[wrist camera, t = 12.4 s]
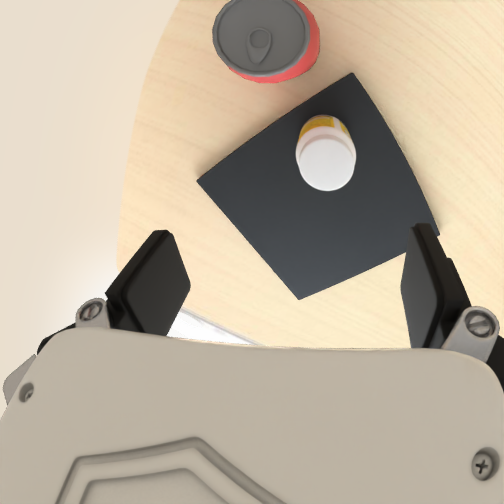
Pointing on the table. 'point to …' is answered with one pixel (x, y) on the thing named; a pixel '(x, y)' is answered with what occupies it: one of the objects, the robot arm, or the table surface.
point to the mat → (321, 196)
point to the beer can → (266, 39)
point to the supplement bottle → (325, 153)
